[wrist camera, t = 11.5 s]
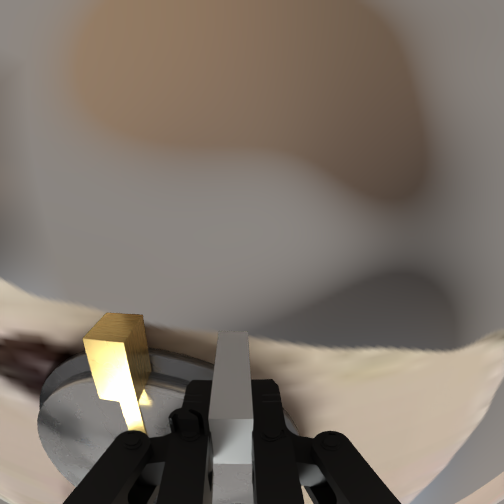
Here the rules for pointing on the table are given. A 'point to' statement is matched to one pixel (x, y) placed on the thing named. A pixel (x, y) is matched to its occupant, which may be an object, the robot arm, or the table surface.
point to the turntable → (120, 406)
